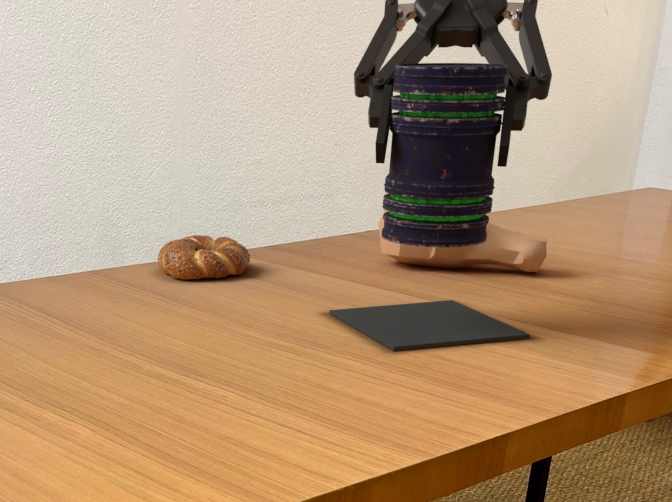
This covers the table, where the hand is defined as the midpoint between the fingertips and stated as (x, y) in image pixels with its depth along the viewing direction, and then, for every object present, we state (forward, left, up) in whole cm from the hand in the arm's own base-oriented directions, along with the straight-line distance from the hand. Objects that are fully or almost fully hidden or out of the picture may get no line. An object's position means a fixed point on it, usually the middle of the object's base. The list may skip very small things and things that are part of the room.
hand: (440, 155), depth 93 cm
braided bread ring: (+32, +11, -16) cm, 38 cm away
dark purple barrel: (+3, -2, -8) cm, 8 cm away
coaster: (+2, -2, -16) cm, 16 cm away
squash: (+25, -19, -16) cm, 35 cm away
